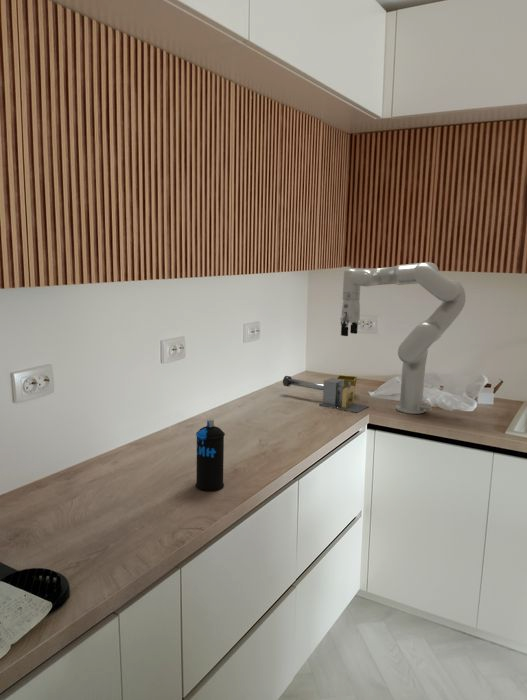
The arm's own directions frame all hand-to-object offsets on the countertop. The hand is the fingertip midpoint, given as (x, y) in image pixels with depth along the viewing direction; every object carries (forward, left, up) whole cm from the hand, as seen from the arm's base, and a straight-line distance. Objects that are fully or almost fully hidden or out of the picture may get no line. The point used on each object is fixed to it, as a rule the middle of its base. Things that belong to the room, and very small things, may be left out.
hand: (349, 334), depth 265 cm
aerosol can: (-11, +114, -31) cm, 119 cm away
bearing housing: (+1, +11, -30) cm, 32 cm away
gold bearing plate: (-6, +11, -30) cm, 32 cm away
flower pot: (+3, -6, -31) cm, 31 cm away
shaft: (+12, +11, -26) cm, 30 cm away
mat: (-8, +11, -30) cm, 33 cm away
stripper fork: (-5, +11, -30) cm, 33 cm away
